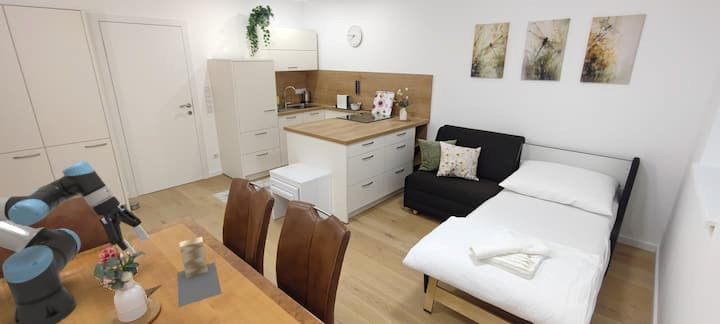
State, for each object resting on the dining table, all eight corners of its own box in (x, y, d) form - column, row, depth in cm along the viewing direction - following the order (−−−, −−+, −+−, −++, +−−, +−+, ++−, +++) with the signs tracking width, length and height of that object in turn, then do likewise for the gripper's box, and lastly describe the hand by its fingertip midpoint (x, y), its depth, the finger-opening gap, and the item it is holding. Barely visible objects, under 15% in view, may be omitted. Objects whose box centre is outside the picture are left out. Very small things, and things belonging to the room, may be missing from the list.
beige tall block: (186, 278, 128) (179, 247, 124) (185, 272, 132) (179, 241, 128) (208, 271, 132) (203, 241, 128) (207, 266, 136) (202, 236, 131)
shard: (163, 287, 125) (162, 283, 125) (164, 299, 119) (163, 295, 118) (129, 298, 120) (128, 294, 119) (128, 311, 114) (127, 306, 113)
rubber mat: (178, 308, 114) (178, 307, 113) (177, 274, 132) (177, 272, 132) (221, 295, 120) (221, 293, 120) (215, 263, 138) (214, 262, 138)
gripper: (95, 207, 106) (136, 257, 113) (127, 186, 130) (159, 229, 136) (72, 219, 105) (115, 269, 112) (109, 196, 129) (142, 238, 135)
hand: (139, 247), depth 124 cm, fingers open, 13 cm apart
